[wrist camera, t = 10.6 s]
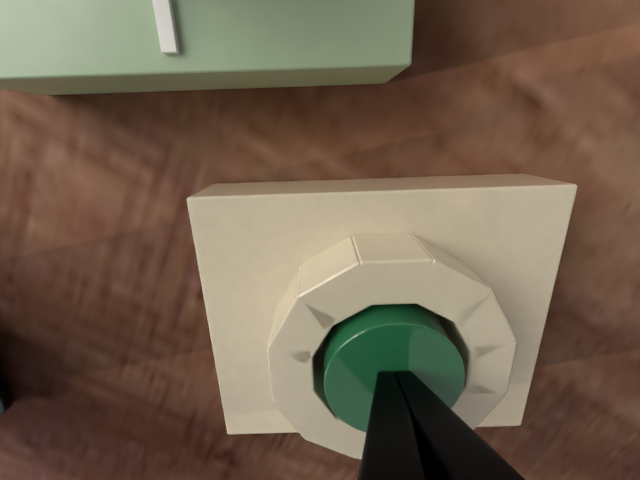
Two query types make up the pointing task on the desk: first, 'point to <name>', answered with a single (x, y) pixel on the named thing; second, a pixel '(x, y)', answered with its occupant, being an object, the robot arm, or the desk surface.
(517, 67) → the desk surface
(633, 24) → the desk surface
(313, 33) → the console
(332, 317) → the button base
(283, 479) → the desk surface
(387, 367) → the green button cap
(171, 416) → the desk surface
